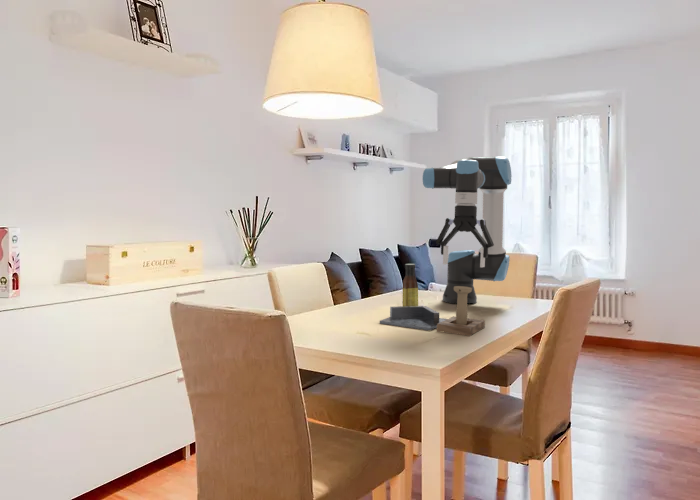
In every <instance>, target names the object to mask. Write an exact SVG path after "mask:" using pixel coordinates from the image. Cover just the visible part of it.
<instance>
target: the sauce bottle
mask: <svg viewBox="0 0 700 500" xmlns="http://www.w3.org/2000/svg"><path fill="white" fill-rule="evenodd" d="M404 268H405V274H404V275H405V276H404V278H403V280H402V306H419V284H418V281H417V279H416V264H415V263H405V264H404Z"/></svg>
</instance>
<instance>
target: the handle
mask: <svg viewBox="0 0 700 500" xmlns="http://www.w3.org/2000/svg"><path fill="white" fill-rule="evenodd" d="M454 291H455V292H457V293H458V299H457V304H456V311H455V317H456V323H457V324H461V325H466V324H467V318H468V313H469V312H468V304H467V295H468V293H470V292H472V288H471V287H465V286H454Z"/></svg>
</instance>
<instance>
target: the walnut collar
mask: <svg viewBox="0 0 700 500" xmlns="http://www.w3.org/2000/svg"><path fill="white" fill-rule="evenodd" d="M446 319H447V320H445V321H443V322H440V323H438V324H437V328H436V331H437V332H440V331H444V332H443V333H447V332H448V333H447V334H454V335H462V336H469V337H470V336H472V335H474V334H476V333H477V332H479V331H481V330H482V329H485V327H486V320H484V319H477V318H476V319H475V318H468V317H467V324H466V325H461V324H457V323H456V316H452V317H449V318H446Z"/></svg>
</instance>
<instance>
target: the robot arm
mask: <svg viewBox="0 0 700 500" xmlns="http://www.w3.org/2000/svg"><path fill="white" fill-rule="evenodd" d="M512 177H513V176H512V166H511V163H510V161H509V159H508V158H507V157H506V156H469V157H464V158H460V159H457V160H454V161H452V162H451V163H450V164H448V165H445V166H441V167H429V168H428V167H427V168H425V169H424V170H423V173H422V185H423V186H424V187H425V189H426V188H427V189H455V195H454V196H455V197H454V201H455V202H454V203H455V204H456V205H455V206H454V217H453V218H454V219H453V218H451V217H450V218H449V217H447V218H446V219H445V222H444V226H443V227H442V229H441V232H440V234H438V237H437V239H436V241H435V243H436V244H437V245H440V254H441V255H442V265H447V274H446V275H447V278H446V279H447V282H446V287H445V289H444V292H443V294H442V302H444V301H445V302H444V303H448V302H450V303H449V304H454V303H457V299H458V293H457V292H455V291H454V286H465V287H471V288H472V292H470V293H468V295H467V303H473V304H476V303H477V302H478V301H477V299H478V298H477V294H476V291H475V290H476V289H475V287H474V280H477V281H478V280H480V281H491V282H492V281H493V282H503V281H505V280H506V278H507V276H508V275H507V274H508V272H509V266H510V261H511V260H510V259H511V258H510V256H509V254H506V253H507V250H506V249H505V248H504V247H503V239H504V238H503V234H504V233H503V232H504V230H503V229H504V227H503V226H504V192H506V191H507V190H508V186H509V185H511V184H512ZM424 187H423V188H424ZM478 189H479V190H480V192H482V219H477V214H478V213H477V211H478V207H477V204H478ZM453 224H454V227H453V228H452V230H451V231H450V233H448V231H449V229H450V227H451V225H453ZM477 225H478V226H479V227H480V229H481V232H482V235H481V234H480V232H479V231H478V229H477V227H476V226H477ZM459 232H461V233H462V232H466V233H470V232H471V234H473V236H474V237H475V238H476V240H477V241H478V242H479V244H480V245H481V248H480V249H478V253H475V251H476V250H474V249H464V250H454V251H451V252H449V245H448V244H449V242H450V241H451V240H452V239H453V238H454V237H455V236H456V234H458V233H459ZM447 233H448V234H447ZM446 235H447V236H446Z"/></svg>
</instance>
